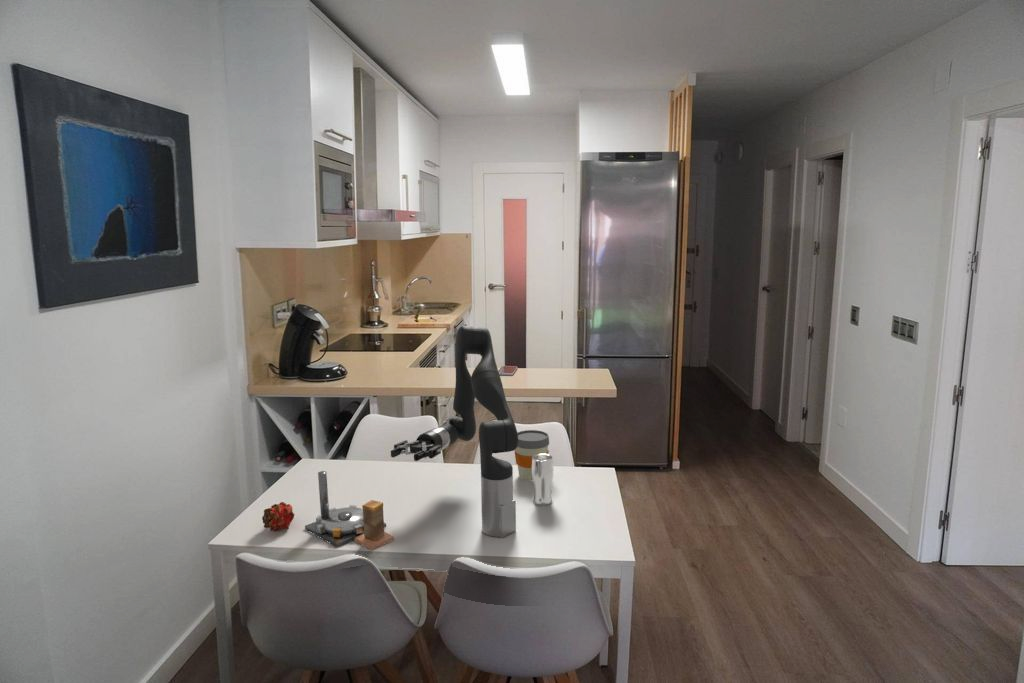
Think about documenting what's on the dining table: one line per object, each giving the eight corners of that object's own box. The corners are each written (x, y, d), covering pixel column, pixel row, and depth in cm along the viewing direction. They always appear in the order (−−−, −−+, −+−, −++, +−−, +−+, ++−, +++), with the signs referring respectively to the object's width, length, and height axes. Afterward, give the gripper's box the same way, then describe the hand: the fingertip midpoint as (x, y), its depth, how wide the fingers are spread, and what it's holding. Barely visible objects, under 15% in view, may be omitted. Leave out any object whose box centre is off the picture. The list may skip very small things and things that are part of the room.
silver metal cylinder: (528, 503, 218) (527, 459, 215) (537, 495, 224) (537, 452, 221) (548, 507, 215) (547, 462, 212) (557, 499, 221) (557, 455, 218)
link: (384, 535, 196) (383, 502, 194) (375, 541, 192) (373, 508, 190) (373, 532, 197) (371, 500, 196) (364, 538, 194) (362, 505, 192)
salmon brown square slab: (394, 539, 195) (394, 536, 195) (371, 549, 189) (371, 546, 189) (377, 531, 200) (377, 528, 200) (354, 540, 195) (354, 537, 194)
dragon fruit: (265, 543, 197) (288, 530, 209) (286, 528, 196) (308, 516, 207) (250, 518, 198) (273, 506, 210) (271, 503, 196) (293, 492, 208)
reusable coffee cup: (535, 485, 232) (535, 443, 230) (506, 477, 240) (506, 436, 237) (556, 474, 242) (556, 434, 239) (527, 466, 250) (527, 427, 247)
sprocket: (380, 511, 210) (378, 462, 207) (366, 537, 194) (363, 484, 191) (326, 511, 211) (323, 462, 208) (307, 536, 195) (303, 483, 192)
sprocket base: (386, 526, 203) (386, 523, 203) (337, 547, 191) (336, 543, 191) (353, 510, 215) (353, 507, 214) (305, 528, 202) (304, 525, 202)
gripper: (414, 427, 221) (383, 441, 207) (451, 432, 215) (422, 446, 200) (415, 450, 222) (384, 465, 208) (452, 455, 216) (423, 471, 202)
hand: (403, 456), depth 204 cm, fingers open, 8 cm apart
